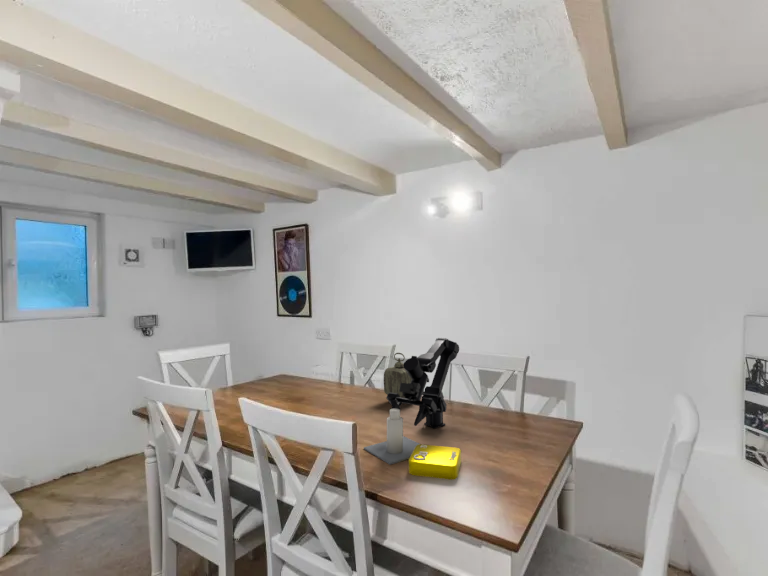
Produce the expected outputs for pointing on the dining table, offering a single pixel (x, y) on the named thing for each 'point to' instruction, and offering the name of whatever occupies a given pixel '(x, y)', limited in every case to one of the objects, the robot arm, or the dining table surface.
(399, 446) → the white bottle
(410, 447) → the slate mat
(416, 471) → the element tile
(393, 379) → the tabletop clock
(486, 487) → the dining table surface
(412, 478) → the dining table surface
